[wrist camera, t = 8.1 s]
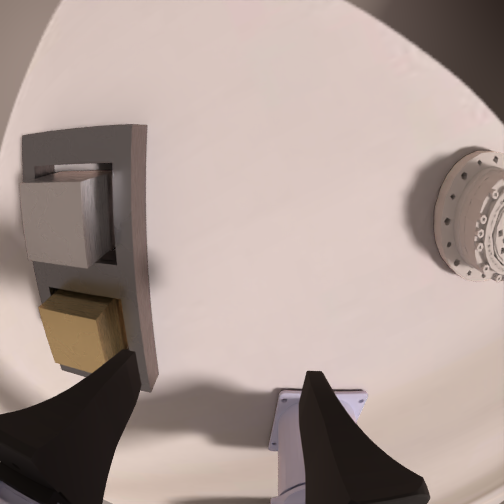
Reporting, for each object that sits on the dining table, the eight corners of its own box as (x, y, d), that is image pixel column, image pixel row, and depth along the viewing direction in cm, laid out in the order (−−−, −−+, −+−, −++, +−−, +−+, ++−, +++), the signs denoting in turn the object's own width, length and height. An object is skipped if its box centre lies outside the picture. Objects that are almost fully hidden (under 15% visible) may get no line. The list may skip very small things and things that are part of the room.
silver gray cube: (122, 240, 21) (87, 268, 16) (67, 235, 21) (28, 259, 16) (119, 170, 19) (80, 181, 15) (62, 171, 19) (19, 183, 15)
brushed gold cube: (125, 285, 22) (95, 320, 18) (132, 338, 24) (109, 377, 19) (72, 277, 22) (38, 307, 18) (82, 328, 24) (55, 362, 20)
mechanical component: (432, 145, 18) (424, 280, 21) (468, 150, 14) (451, 309, 17) (524, 155, 17) (512, 268, 20) (560, 163, 13) (541, 290, 16)
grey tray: (158, 373, 25) (151, 392, 23) (73, 354, 25) (61, 369, 23) (147, 125, 18) (132, 124, 16) (42, 133, 18) (22, 135, 16)
